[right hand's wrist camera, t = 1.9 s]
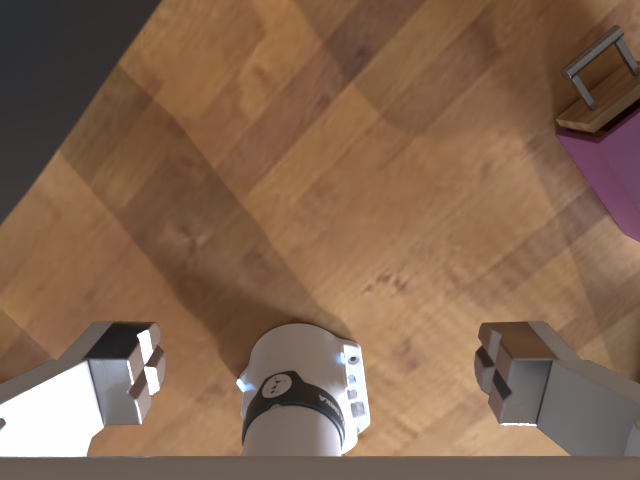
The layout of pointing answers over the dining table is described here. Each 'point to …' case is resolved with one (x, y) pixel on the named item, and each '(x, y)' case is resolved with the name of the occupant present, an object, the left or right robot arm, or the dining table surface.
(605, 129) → the drawer
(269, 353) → the right robot arm
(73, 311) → the dining table surface
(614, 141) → the cabinet
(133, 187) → the dining table surface
